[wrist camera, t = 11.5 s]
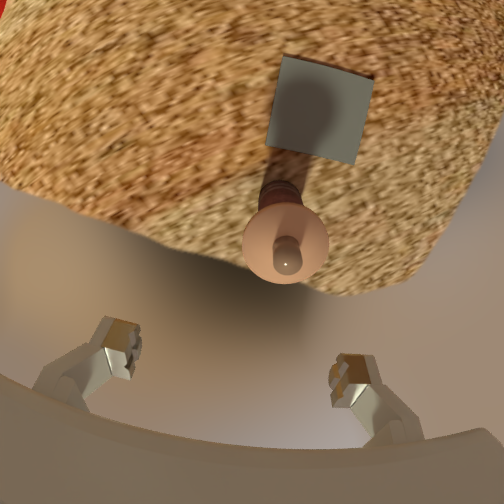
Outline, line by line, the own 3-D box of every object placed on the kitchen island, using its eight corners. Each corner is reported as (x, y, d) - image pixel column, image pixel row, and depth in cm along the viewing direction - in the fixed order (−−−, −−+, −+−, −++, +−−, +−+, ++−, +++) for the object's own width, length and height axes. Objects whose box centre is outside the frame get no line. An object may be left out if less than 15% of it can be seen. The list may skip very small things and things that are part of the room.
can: (289, 171, 43) (300, 205, 30) (306, 208, 45) (321, 255, 33) (251, 187, 44) (246, 227, 32) (269, 223, 47) (271, 274, 34)
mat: (282, 56, 35) (283, 56, 34) (372, 81, 35) (374, 80, 35) (265, 144, 41) (265, 145, 40) (352, 164, 42) (354, 165, 41)
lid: (249, 195, 30) (247, 211, 26) (336, 210, 30) (346, 227, 27) (237, 271, 34) (234, 294, 31) (315, 282, 35) (320, 305, 31)
